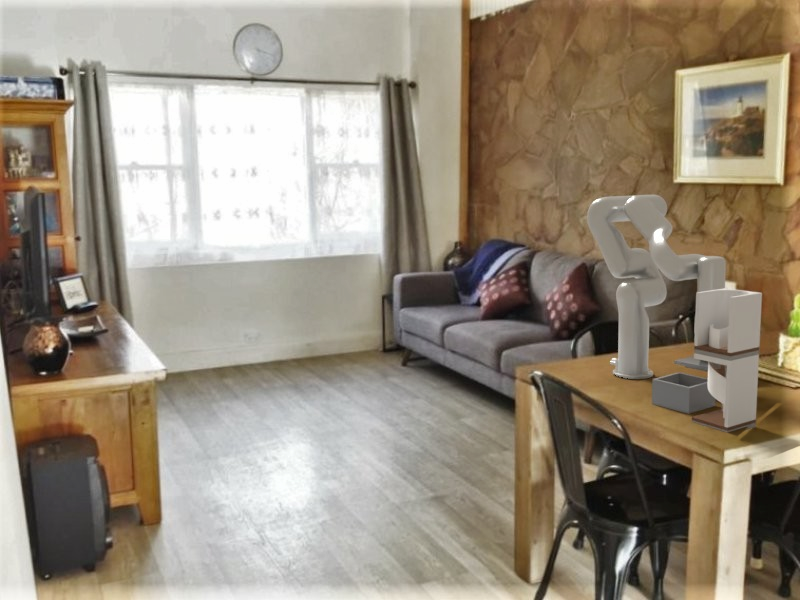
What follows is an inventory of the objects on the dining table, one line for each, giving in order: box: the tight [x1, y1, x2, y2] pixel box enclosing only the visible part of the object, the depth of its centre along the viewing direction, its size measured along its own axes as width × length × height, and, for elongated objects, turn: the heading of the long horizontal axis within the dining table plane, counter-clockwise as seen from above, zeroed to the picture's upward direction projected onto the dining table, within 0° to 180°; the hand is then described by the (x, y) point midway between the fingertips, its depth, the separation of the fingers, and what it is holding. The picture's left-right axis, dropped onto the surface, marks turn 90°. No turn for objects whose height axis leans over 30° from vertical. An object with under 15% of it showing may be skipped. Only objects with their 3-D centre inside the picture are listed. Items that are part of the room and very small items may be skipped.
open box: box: [651, 371, 717, 415], centre depth 214 cm, size 12×12×8 cm
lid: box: [673, 355, 708, 373], centre depth 226 cm, size 14×14×8 cm
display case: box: [691, 287, 763, 433], centre depth 196 cm, size 11×11×35 cm
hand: (709, 359), depth 226 cm, fingers closed on lid, 3 cm apart
